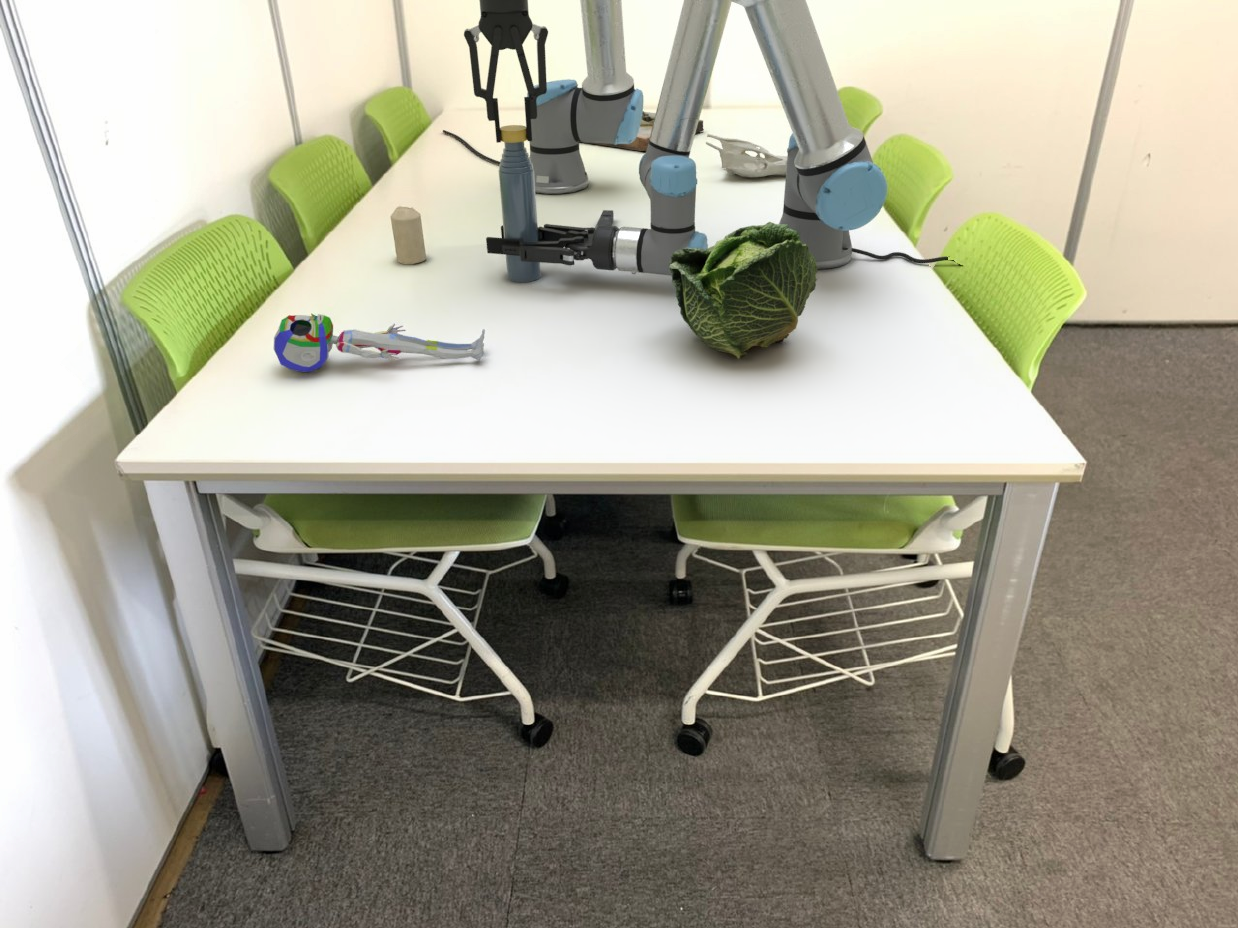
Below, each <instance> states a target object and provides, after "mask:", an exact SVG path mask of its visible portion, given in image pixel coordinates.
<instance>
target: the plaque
mask: <svg viewBox="0 0 1238 928" xmlns="http://www.w3.org/2000/svg"><path fill="white" fill-rule="evenodd" d="M655 115H656V112H650V111H644V110H643V113H642V119H641V124H640V128H639V132H638V135H637V137H636V139H635V140H634V141H633V142H632V143H629V144H617V145H614V144H607V143H591V144H593V145H597V146H598V145H599V146H607V147H612V148H620V149H625V150H632V151H640V152H646V151H647V147H648V144H649V139H650V135H651V131H652V127H653V123H654V119H655ZM704 130H705V129H704V120H702V119H699V122H698V125H697V129H696V132H695V135H696V134H698V133H700V132H704ZM584 143H586V144H590V143H589V142H584Z"/></svg>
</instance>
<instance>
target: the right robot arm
mask: <svg viewBox="0 0 1238 928" xmlns="http://www.w3.org/2000/svg"><path fill="white" fill-rule="evenodd" d="M732 3H733V4H737V5H739V6H742V7H743V8H744V11H745V13H746V16H747V18H748V21H749V24H750V26H751V29H752V31H753V35H754V36H755V39H756V41H757V44H758V46H759V49H760V52H761V54H762V58H763V60H764V63H765V65H766V68H767V70H768V72H769V75H770V78H771V80H772V83H773V85H774V88H775V91H776V93H777V96H778V98H779V101H780V103H781V106H782V109H783V111H784V114H785V116H786V119H787V122H788V124H789V127H790V129H791V132H792V134H791V135H790V136H789V139H788V147H787V149H786V153H787V155H786V156H787V169H786V174H785V182H784V183H785V184H784V194H783V195H784V196H783V208H782V215H781V217H780V220H779V223H778V224H788V228H790V229H792V230H794V231H797V232H798V234H799V237H800V240H801V241H800V242H801V244H806V245H807V247H808V248H809V252H810V253H811V255H812V256H813V257H814V258H815V263H816V265H817V267H818V268H817V270H827V269H834V268H837V267H842V266H844V265H846V264H848V263H849V262H851V260H852V256H853V255H852V254H853V253H855V254H859V255H863V256H866V257H870V258H872V259H876V260H880V261H881V260H888V259H890V258H893V257H901V258H904V259H906V260H907V261H910V262H912V263H916V264H932V263H938V262H943V261H944V262H945V261H950V262H954V263H956V262H955V261H954V260H948V257H949V256H948V257H947V256H938V257H932V258H926V259H921V258H916V257H913V256H911V255H909V254H907V253H905V252H901V251H894V252H890V253H888V254H884V255H879V254H875V253H872V252H869V251H867V250H862V249H858V248H854V247H853V244H852V239H851V234H850V231H854V230H858V229H861V228H863V227H865V226H866V225H868V224H869V223H870V222H872V221H873V220H874V219H875V218H876V217H877V216H878V215H879V213H880V212H881V211H882V208H883V206H884V204H885V203H886V200H887V197H888V181H887V179H886V176H885V175H884V172H883V171H882V169H881V167H879V166H878V164H876V163H874V161H873V159H872V156H871V152H870V149H869V147H868V144H867V141H866V139H865V135H864V133H863V131H862V130H861V129H859V128H856V127H854V126H851V125H850V122H849V121H848V117H847V113H846V111H845V108H844V105H843V103H842V100H841V97H840V94H839V91H838V88H837V85H836V83H835V81H834V77H833V74H832V71H831V69H830V66H829V63H828V60H827V57H826V53H825V52H824V47H823V46H822V43H821V40H820V37H819V34H818V32H817V29H816V26H815V23H814V19H813V17H812V14H811V11H810V8H809V6H808V2H807V0H683V3H682V6H681V10H680V15H679V19H678V23H677V27H676V30H675V33H674V34H675V35H674V39H673V43H672V46H671V51H670V55H669V59H668V63H667V67H666V72H665V75H664V79H663V84H662V88H661V91H660V95H659V99H658V103H657V107H656V110H655V111H656V112H655V113H656V115H655V119H654V123H653V127H652V131H651V135H650V139H649V144H648V147H647V151H645V152H644V153H643V155H642V157H641V159H640V161H639V163H638V176H639V180H640V183H641V186H643V188H644V189H645V191H646V194H647V196H648V198H649V201H650V203H649V204H650V228H645V227H635V226H634V227H633V226H621V227H620V228H619V227H618V226H617V225H616V226H614V225H612V226H603V225H600V226H598V227H597V228H596V229H595V227H579V226H571V225H561V224H560V225H559V224H549V223H544V224H543V226H538V239H539V242H523V238H520V239H508V238H504V229H503V224H502V225H501V226H500V235H501V237H493V236H486V237H485V241H486V242H485V243H486V252H487V254H492V255H493V254H494V255H505V256H506V255H516V256H520V261H523V262H540V264H541V263H543V264H545V263H546V264H557V265H559V264H560V265H565V266H570V267H572V266H574V265H575V261H584V260H590V262H592V265H593V267H594V268H595V269H596V270H603V271H615V270H618V271H619V272H629V273H631V274H632V275H637V273H638V274H639V273H640V274H653V275H661V276H669V277H672V275H671V271H670V268H669V263H670V260H671V255H672V254H673V253H674V252H677V251H678V250H680V249H684V248H700V249H708V248H709V244H708V236H707V235H706V234H705V233H704V232H700V231H698V230H696V222H695V221H696V201H697V197H696V196H697V185H698V179H697V164H696V162H695V160H694V159H692V158H690V154H691V151H692V147H693V143H694V140H695V136H696V134H695V132H696V129H697V125H698V122H699V120H700V117H701V114H702V110H703V107H704V103H705V101H706V96H707V93H708V89H709V85H710V82H711V78H712V75H713V71H714V67H715V63H716V61H717V60H716V59H717V56H718V53H719V50H720V47H721V42H722V38H723V34H724V31H725V27H726V24H727V20H728V16H729V14H730V9H731V7H732ZM956 264H957V265H958V266H960V267H962V266H961V265H959V264H958V263H956Z"/></svg>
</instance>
